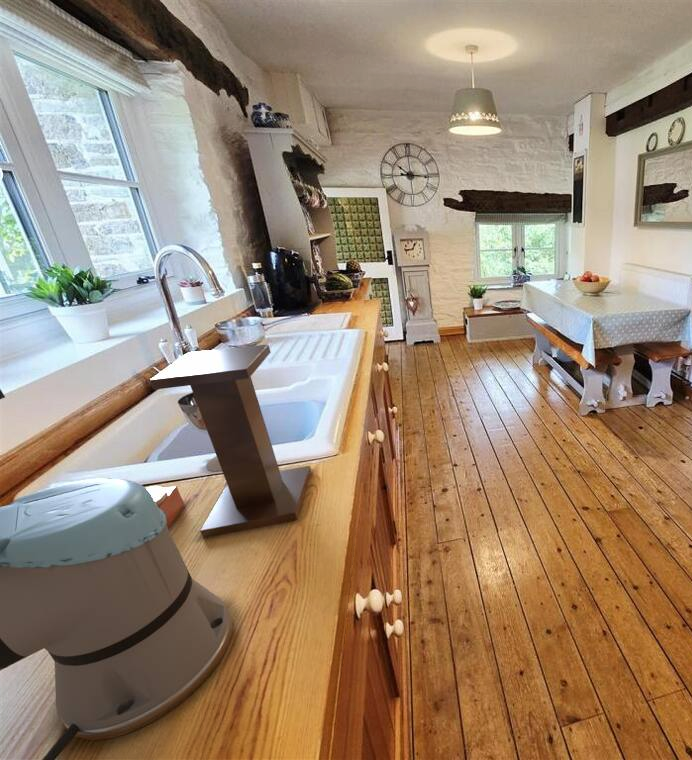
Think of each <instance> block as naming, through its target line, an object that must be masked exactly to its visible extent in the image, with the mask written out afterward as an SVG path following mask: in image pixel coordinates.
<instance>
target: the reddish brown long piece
mask: <svg viewBox="0 0 692 760" xmlns="http://www.w3.org/2000/svg"><path fill="white" fill-rule="evenodd" d="M145 488H146V489H147V490H148V491H149V492H150V494H151V495H152V497H153V499H154V501H155V502H156V504H157V506H158V508H159V509H161V510H162V511H163V512H164V514H165V516H166V521H167V523H166V526H167V528H168V529H169V527H170V526H171V524H172V523H173V521H174V520H175V519H176V517H177V515H179V512H180V511H181V509H183V507H184V506H185V502H184V500H183V498H182V495H181V493H180V491H179V489H178V486H177V485H176V486H169V487H163V486H160V485H159V486H149V487H145Z"/></svg>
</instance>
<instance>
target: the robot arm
mask: <svg viewBox="0 0 692 760" xmlns="http://www.w3.org/2000/svg"><path fill="white" fill-rule="evenodd" d="M2 179H3V171H2V168H0V181H1V180H2ZM5 398H6V396H5V394H4V392H3V391H2V389H1V388H0V400H3V399H5ZM146 488H147V487H145V486H144V485H142V484H140V483H138V482H136V481H133V480H129V479H124V478H111V477H110V478H109V477H104V478H103V477H102V478H101V477H99V478H91V479H82V480H76V481H71V482H66V483H62V484H58V485H54V486H50V487H47V488H46V487H45V488H44V489H43V488H42V489H39V490H36V491H34V492H30V493H27V494H25V495H22V496H20V497H18V498H16V499H13V500H12V501H11V504H9V505H4V506H0V671H2V670H4V669H6V668H9V667H11V666H12V665H14V664H16V663H18V662H21V661H22V660H24V659H27V658H28V657H29V656H32V655H34V654H36V653H38V652H39V651H41V650H45V651H46V652H47V653H48V654H49V655H50V657H51V658H52V660H53V661H54V686H55V689H54V690H55V708H56V712H57V716H58V719H59V720H60V722H61V723H62V725H64V727H65V728H66V730H65V732H63V734H62V735H61V736H60V737H59V738H58V740H57V741H56V742H55V743H54V745H53V746H52V747H51V748H50V749H49V750H48V752H47V753H46V754H45V755H44V756H43V758H42V759H41V760H56V759H57V758H58V757H59V756H60V755H61V754H62V752H63V751H64V750H65V748H66V747H67V746H68V745H69V744H70V743H71V741H72V740H73V738H74V737H76V738H78V739H82V740H86V741H87V740H88V741H99V740H101V741H102V740H107V739H113V738H117V737H119V736H123V735H126V734H128V733H131V732H134V731H136V730H139V729H141V728H142V727H145V726H147V725H149V724H150V723H152V722H154V721H156V720H158V719H159V718H161V717H162V716H164V715H166V714H167V713H168V712H170V711H171V710H173V709H174V708H176V707H177V706H178V705H180V704H181V703H182V702H183V701H185V700H186V699H187V698H188V697H189V696H191V695H192V694H193V693H194V692H195V691H196V690H197V689H198V688H199V687H200V686H201V685H202V684H203V683H204V682H205V681H206V680H207V679H208V677H209V676H210V675H211V674H212V673H213V671H214V670H215V669H216V667H217V666H218V665H219V663H220V662H221V660H222V658H223V657H224V655H225V654H226V651H227V649H228V648H229V645H230V642H231V640H232V635H233V630H234V629H233V627H234V625H233V624H234V623H233V618H232V616H231V613H230V611H229V609H228V607H227V604H226V603H225V602H224V601H223V600H222V599H221V598H220V597H219V596H217V595H216V594H215V593H213V592H212V591H211V590H209V589H208V588H206V587H205V586H203V585H202V584H201V583H200V582H198V581H197V580H196V579H193V577H192V575H191V573H190V571H189V569H188V566H187V565H186V562H185V561H184V558H183V556H182V554H181V552H180V550H179V549H178V546H177V544H176V542H175V540H174V538H173V536H172V534H171V532H170V530H169V527H168V528H167V526H166V523H167V521H166V516H165V514H164V512H163V511H162V510H161V509H159V508H158V506H157V504H156V502H155V501H154V499H153V497H152V495H151V494H150V492H149V491H148V490H147V489H146Z"/></svg>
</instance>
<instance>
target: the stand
mask: <svg viewBox="0 0 692 760" xmlns="http://www.w3.org/2000/svg"><path fill="white" fill-rule="evenodd" d="M269 355H271V349H270V345H269V344H268V343H267V344H257V345H247V346H239V347H228V348H219V349H211V350H209V349H208V350H201V351H200V350H199V351H190V352H187V353H185V354H184V355H182V356H181V357H179V359H177V360H175V361H174V362H173V363H172V364H169V365H168V366H167V367H166V368H164V369H163V370H161V371H160V372H158V373H157V374H156V375H154V376H153V377H152V378H150V379H149V382H150V385H151V388H152V390H154V391H155V390H163V389H171V388H180V387H189V386H190V389H191V391H192V393H193V394H194V397H195V399H196V402H197V405H198V407H199V410H200V413H201V415H202V418H203V421H204V423H205V426H206V429H207V431H208V434H209V435H208V434H207V435H208V437H209V439H210V442H211V445H212V447H213V450H214V453H215V457H216V456H217V458H218V461H219V464H220V466H221V469H222V470H221V472H222V474H223V477H224V479H225V482H226V486H225V488H224V489H223V491H222V493H221V495H220V496H219V497H218V499H217V501H216V502H215V505H214V506H213V508H212V510H211V511H210V513H209V515H208V516H207V518H206V519H205V521H204V523H203V525H202V526H201V529H200V531H199V532H200V534H201V536H202V538H203V539H204V538H209V537H214V536H220V535H225V534H229V533H235V532H241V531H245V530H250V529H257V528H260V527H266V526H271V525H276V524H282V523H287V522H292V521H297V520H298V518H299V515H300V512H301V508H302V506H303V501H304V498H305V495H306V491H307V488H308V484H309V482H310V479H311V476H312V469H311V465H305V466H300V467H293V468H288V469H282V470H280V467H279V465H278V464H279V463H278V461H277V458H276V455H275V451H274V447H273V445H272V441H271V439H270V435H269V432H268V428H267V426H266V422H265V418H264V416H263V415H264V414H263V412H262V409H261V406H260V402H259V400H258V396H257V392H256V389H255V387H254V386H255V385H254V383H253V379H252V376H253V374H254V373H255V372H256V371H257V370H258V369H259V368H260V366H261V365H262V364H263V362H265V360H266V359H267V358H268V356H269Z"/></svg>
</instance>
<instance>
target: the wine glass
mask: <svg viewBox="0 0 692 760" xmlns="http://www.w3.org/2000/svg"><path fill="white" fill-rule="evenodd" d="M177 405H178V407H179V410H180V412H181V414H182V416H183V418H184V419H185V421H186V422H187V423H188V424H189V425H190V426H191V428H192V429H194V430H196V431H198V432H200V433H203V434H206V435H208V436H209V434H208V431H207V429H206V426H205V423H204V421H203V418H202V415H201V413H200V410H199V407H198V405H197V402H196V399H195V397H194V394H193V392H190V393H187V394H185V395H184V396H182V397H180V398H179V399H178V400H177ZM205 468H206V470H208V471H211V472H218V471H219V472H220V471H222V469H221V466H220V464H219V461H218V458H217V456H216V455H215V456H214V457H213V458H212V459H210V460H209V461H207V463H206V465H205Z"/></svg>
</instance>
